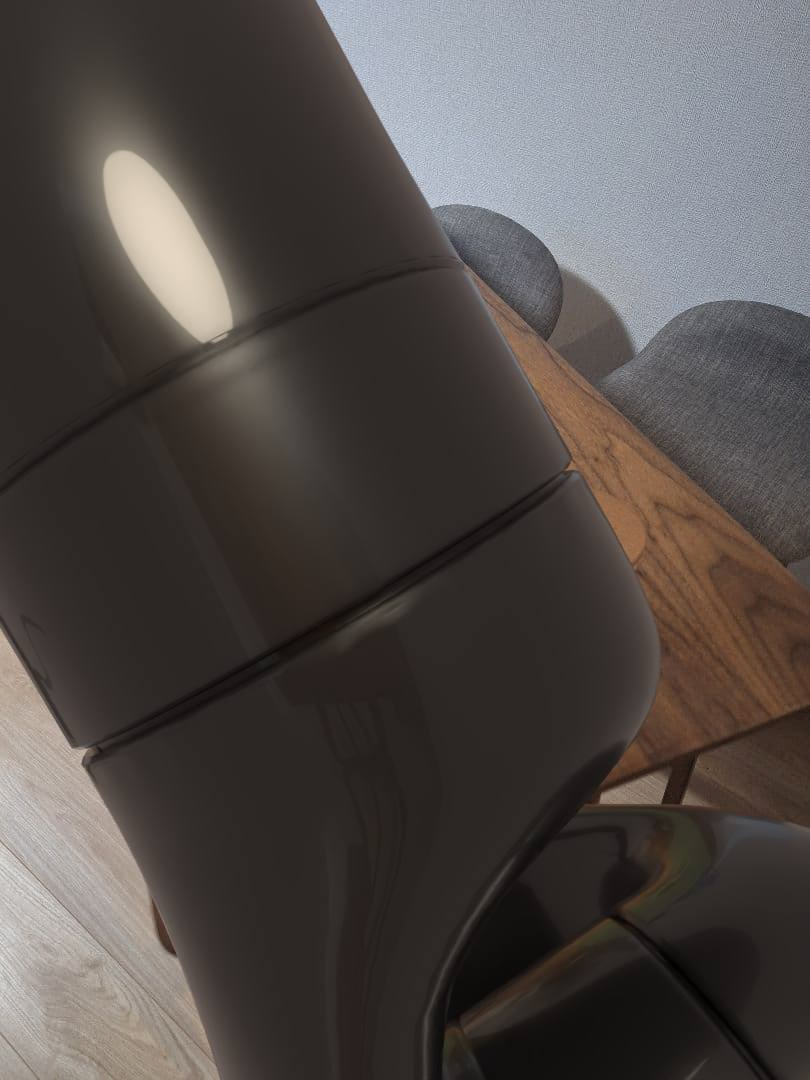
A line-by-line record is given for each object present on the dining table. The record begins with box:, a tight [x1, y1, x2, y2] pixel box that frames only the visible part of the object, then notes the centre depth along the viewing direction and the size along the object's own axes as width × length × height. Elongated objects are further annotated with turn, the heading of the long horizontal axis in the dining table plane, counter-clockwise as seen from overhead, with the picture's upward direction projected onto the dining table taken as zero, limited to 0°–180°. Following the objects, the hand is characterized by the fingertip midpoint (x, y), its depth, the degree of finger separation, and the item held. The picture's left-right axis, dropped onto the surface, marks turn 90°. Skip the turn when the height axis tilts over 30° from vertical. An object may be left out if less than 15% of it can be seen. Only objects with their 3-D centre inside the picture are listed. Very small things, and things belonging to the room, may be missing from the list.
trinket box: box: [590, 487, 647, 571], centre depth 76 cm, size 11×11×9 cm
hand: (366, 763), depth 44 cm, fingers open, 8 cm apart
